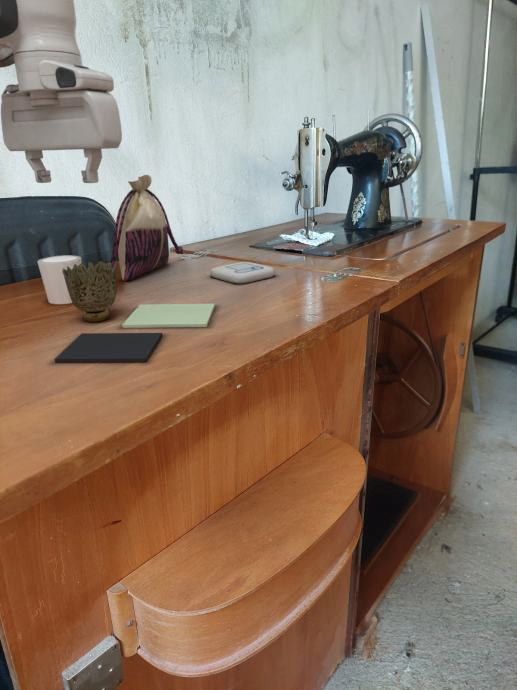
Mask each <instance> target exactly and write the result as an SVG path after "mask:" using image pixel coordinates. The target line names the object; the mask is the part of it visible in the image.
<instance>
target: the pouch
mask: <svg viewBox="0 0 517 690" xmlns="http://www.w3.org/2000/svg"><path fill="white" fill-rule="evenodd" d="M137 178H138V179H137V180H134V181H129V180H128V181H127V182H128V184H129V186H130V187H131V190H130V191H129V192H128V193H127V194H126V195H125V197H124V198H123V200H122V202H121V204H120V206H119V208H118V211H117V215H116V219H115V227H114V238H113V239H114V240H113V246H112V252H111V257H110V261H109V262H110V263H111V267H112V268H114V265H115V264H116V260H117V256H118V265H119V271H120V275H121V279H122V281H124V282H129V281H132V280H134V279H135V278H138V277H140V276H142V275H144V274H147V273H149V272H151V271H153V270H155V269H158V268H160V267H162V266H165V265H167V264H168V263H169V260H170V246H169V245H170V243H169V240H170V242H171V243H172V245H173V247H174V252H175V253H176V254H177V255H184V252H183V251H184V249H183V246H181V245H180V246H179V245H178V243H177V242H176V239H175V237H174V234H173V232H172V229H171V225H170V222H169V219H168V218H169V217H168V216H167V212H166V210H165V208H164V205H163V204H162V202H161V200H160V199H159V198H158V197H157V196H156V194H155V193H153V192H152V191H151V190H150V189H149V188H150V186H151V184H152V181H153V178H152V176H150V175H149V174H143V175H142V176H138V177H137Z"/></svg>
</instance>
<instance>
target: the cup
mask: <svg viewBox="0 0 517 690" xmlns="http://www.w3.org/2000/svg"><path fill="white" fill-rule="evenodd" d="M62 272H63V275H64V279H65V282H66V286H67V289H68V292H69V295H70V298H71V300H72V303H71V304H73V306H74V307H75V308H76V309H78V310H79V311H81V312H83V314H82V317H83V319H84V320H85V321H87V322H89V323H99V322H102V321H106V320H107V319H108V317H109V315H110V311H109V310H108V309H109V308H111V307H112V306H113V305H114V302H115V301H116V297H117V263H115V264H114V267H113V268H112V267H111V263H110V261H108V262H107V263H105V262H104V261H101V260H100V261H98V262H97V263H96V264H95V265H94V263H92V262H91V261H89V262H88V263H87V266H86V264H84V263H82V262H81V264H80V265H79V266H77V265H76V264H75V265H74V267H73V269H72V270H71V269H70V268H69V266H68V267H67V270H66V269H64V268H63V271H62Z"/></svg>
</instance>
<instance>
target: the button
mask: <svg viewBox="0 0 517 690" xmlns="http://www.w3.org/2000/svg"><path fill="white" fill-rule="evenodd" d="M275 274H276V270H275V269H274V267H272V266H269V265H264V264H259V263H256V262H255V263H254V262H249V261H240V262H236V263H231V264H225V265H220V266H215V267H213V268H211V270H210V276H211V277H212V278H213V279H217V280H220V281H224V282H228V283H231V284H236V285H243V284H244V285H245V284H249V283H252V282H258V281H261V280H265V279H270V278H273V277H274V276H275Z"/></svg>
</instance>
